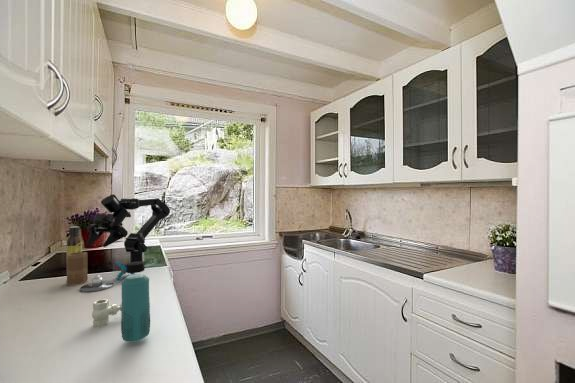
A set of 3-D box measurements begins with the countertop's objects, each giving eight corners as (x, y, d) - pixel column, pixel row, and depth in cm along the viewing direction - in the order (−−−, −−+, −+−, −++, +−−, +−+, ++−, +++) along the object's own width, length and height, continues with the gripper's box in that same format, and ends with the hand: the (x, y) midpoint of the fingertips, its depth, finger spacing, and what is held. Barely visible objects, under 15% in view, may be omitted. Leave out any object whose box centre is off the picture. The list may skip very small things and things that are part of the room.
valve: (95, 331, 76) (142, 316, 85) (95, 307, 76) (142, 295, 85) (89, 323, 80) (134, 310, 89) (89, 300, 80) (134, 289, 89)
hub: (76, 287, 110) (76, 276, 109) (108, 280, 118) (108, 270, 118) (84, 294, 102) (84, 282, 102) (117, 286, 110) (117, 275, 110)
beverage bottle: (154, 340, 71) (154, 262, 71) (125, 351, 66) (126, 267, 66) (144, 331, 75) (144, 258, 75) (116, 341, 70) (116, 262, 70)
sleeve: (65, 282, 115) (65, 253, 115) (84, 279, 120) (84, 251, 120) (69, 286, 111) (69, 256, 111) (88, 282, 116) (88, 253, 116)
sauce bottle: (81, 267, 139) (81, 227, 138) (65, 268, 135) (65, 228, 135) (82, 264, 144) (82, 225, 144) (67, 265, 141) (67, 226, 141)
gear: (139, 275, 120) (120, 261, 116) (128, 287, 117) (108, 273, 113) (135, 273, 128) (116, 259, 125) (124, 284, 125) (105, 270, 122)
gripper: (90, 207, 130) (66, 234, 120) (122, 207, 126) (100, 236, 115) (105, 222, 138) (83, 248, 128) (136, 223, 133) (116, 251, 123)
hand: (95, 246), depth 123 cm, fingers open, 9 cm apart
